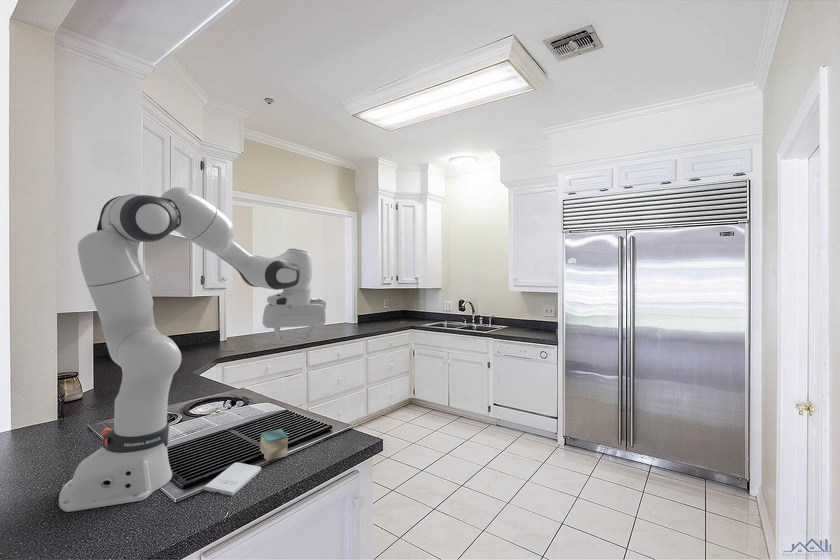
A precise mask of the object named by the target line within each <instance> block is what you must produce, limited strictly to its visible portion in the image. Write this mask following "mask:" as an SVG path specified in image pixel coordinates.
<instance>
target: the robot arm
mask: <svg viewBox="0 0 840 560" xmlns="http://www.w3.org/2000/svg"><path fill="white" fill-rule="evenodd" d="M99 215H100V216H99V220H98V223H97V226H96V231H94V232H91V233H87V235H85V236H83V237H81V239H80V240H79V242H78V244H77V252H78V253H77V254H78V261H79V264H80V268H81V272H82V275H83V278H84V281H85V283H86V287H87V289H88V292H89V294H90V297H91V298H92V302H93V305H94V306H95V309H96V311H97V314H98V317H99V320H100V324H101V329H102V333H103V337H104V340H105V343H106V347H107V350H108V353H109V356H110V359H111V360H112V362H114V363H115V364H116V365H118V367H120V368H121V371H122V379H121V383H120V386H119V391H118V394H117V395H116V396H115V399H114V411H113V412H114V417H113V419H114V421H113V429H112V428H110V427H105V428H103V429H102V430H101V433H100V434H101V437H102V447H99V449H97V450H96V451H94V452H93V453H91V454H90V455H89V456H87V457H86V458H85V459H83V460H82V461H81V462H80V463H79V464H78V466H77V467H76V469H75V471H74V474H73V476H72V479H70V480H69V481H67V482H66V483H65V484H64V485H63V486H62V488H61V490H60V492H59V495H58V506H59V508H60V509H61V511H64V512H67V513H68V512H70V513H71V512H77V511H83V510H89V509H96V508H101V507H107V506H114V505H122V504H126V503H127V504H129V503H134V502H140V501H143V500H145V499H147V498H148V497H149V496H150V495H151V494H152V493H154V492H156V491H157V490H159V489H160V488H162V487H164V486H165V485H166V484H168V483H169V482H170V480H172V478H173V472H172V469H171V465H170V461H169V454H168V453H169V451H168V445H169V439H170V426H169V423H168V405H169V404H168V403H169V394H170V393H169V392H170V388H171V385H172V382H173V378H174V374H175V373H176V372H177V371H178V370H179V368H180V366H181V363H182V359H183V358H182V353H181V350H180V348H179V346H178V345H177V344H176V343H175V341H174V340H173V339H172V338H170V337H169V336H167V335H165V334H163V333H161V332H160V331H159V330H158V328H157V325H156V322H155V318H154V317H155V316H154V309H153V308H154V300H153V296H152V294H151V290H150V288H149V285H148V281H147V279H146V277H145V274H144V270H143V268H142V266H141V263H140V261H139V254H138V253H139V251H138V250H139V246H140V244H141V243H153V242H157V241H158V242H159V241H161V240H162V239H164V238H166V237H167V236H169V235H171V233H172V232H174V231H175V232H177V233H179V234H180V235H182V237H185V238H186V239H187V240H189V241H190V242H192V243H194V244H195V245H197V246H199V247H200V248H202V249H204V250H207V251H208V252H211V253H213V254H215V255H216V256H218V257H219V258H220V259H222V260H223V261H224V262H226V263H227V264H229V265H230V266H231V267H233V269H235V270H236V271H237V272H238V274H239V276H241V279H242V280H243V281H244V283H246V284H247V285H248V286H250V287H254V288H264V289H268V290H269V289H270V290H273V291H274V290H275V291H279V290H282V292H278V293H276V294H272V295H270V296H267V299H266V302H267V303H268V304H266V306H265V307H264V311H263V314H262V325H263V326H264V328H266V329H273V331H274V333H275V334H276V341H277V342H283V341H284V335H282V334H280V331H281V328H282V329H283V328H297V327H298V328H302V327H308V328H309V330H308V331H307V332H306V333H305V334H304V339H305V340H312V334H313V333H314V331H315V330H316V327H320V326H321V327H322V326H325V324H326V317H327V316H326V308H327V302H326V301H325V300H324V299H323V298H322V297H321V298H315V297H314V298H311V294H312V293H311V291H312V288H311V280H312V273H313V271H312V270H313V262H312V256H311V254H310V253H309V252H308V251H306V250H301V249H297V248H288V249H286V251H285V252H284V253H282V254H280V255H277V256H275V257H273V258H269V257H264V256H260V255H254V254H251V253H250V252H248V251H247V250H246V249H245V248H243V247H242V246H241V245H239V244H238V243H237V242H236V241H235V240H233V238H234V235H235V225H234V223H233V221H231V219H230V218H229V217H228V216H227V215H226V214H225V213H224V212H223V211H222V210H220V209H219V208H217V207H216V206H215V205H213V204H212V203H210V202H209V200H206V199H204V198H203V197H202V196H200V195H198V194H196V193H194V191H191V190H189V189H187V188H185V187H180V186H178V187H177V186H176V187H173V188H170V189H168V190H166V191H165V192H163V193H162V194H161V196H154V195H149V194H148V195H147V194H142V195H141V194H135V193H134V194H133V193H132V194H125V195H120V196H116V197H113V198H111V199H109V200H108V201H107V202H106V203H105V204H104V205H103V207H102V209H101V211H100V214H99Z"/></svg>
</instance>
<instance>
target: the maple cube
mask: <svg viewBox="0 0 840 560" xmlns="http://www.w3.org/2000/svg"><path fill="white" fill-rule="evenodd" d="M288 442H289V436H288V434H286V433H285V432H284V430H282V428H278V429H274V430H270V431H264V432H261V433H260V447H259V448H260V449H259V452H260V451H261V452H262V453H263V454H264V457H263V458H264V459H266V460H269V461H273V460H276V459H280V458H284V457H288ZM266 460H265V461H266Z"/></svg>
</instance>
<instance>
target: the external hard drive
mask: <svg viewBox="0 0 840 560" xmlns="http://www.w3.org/2000/svg"><path fill="white" fill-rule="evenodd" d="M261 471H262V467H261V466H259V465H253V464H247V463H243V462H239V461H238V462H235V461H234V463H232V464H231V465H230V466H229V467H227V468H225V470H223V471H222V472H221V473H220V474H218V475H217V476H216V477H214V478H213V479H212V480H210V481H209V482H208V483H207V484H205V485H204V486H203V490H204V491H207V492H213V493H220V494H222V495H227V496H231V497H233V496H235V494H237V492H238V491H239V490H240V491H241V489H242V488H244V487H245V485H246V484H248V483H249V482H250V481H251V480H252V479H254V477H256V476H257V475H258V474H259V473H260V472H261Z"/></svg>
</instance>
